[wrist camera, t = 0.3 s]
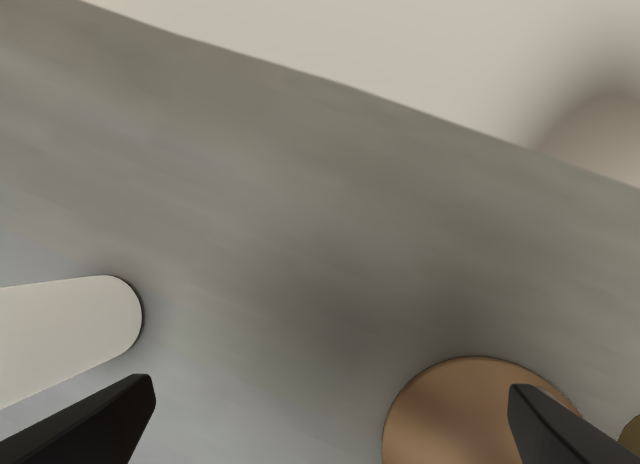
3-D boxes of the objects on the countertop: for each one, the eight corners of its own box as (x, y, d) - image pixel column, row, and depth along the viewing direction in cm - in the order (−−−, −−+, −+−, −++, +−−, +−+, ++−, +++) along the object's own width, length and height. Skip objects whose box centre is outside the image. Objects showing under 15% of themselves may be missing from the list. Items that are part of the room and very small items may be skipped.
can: (125, 260, 27) (-75, 276, 15) (158, 335, 26) (-20, 415, 14) (60, 296, 27) (-178, 339, 15) (92, 370, 27) (-131, 473, 15)
